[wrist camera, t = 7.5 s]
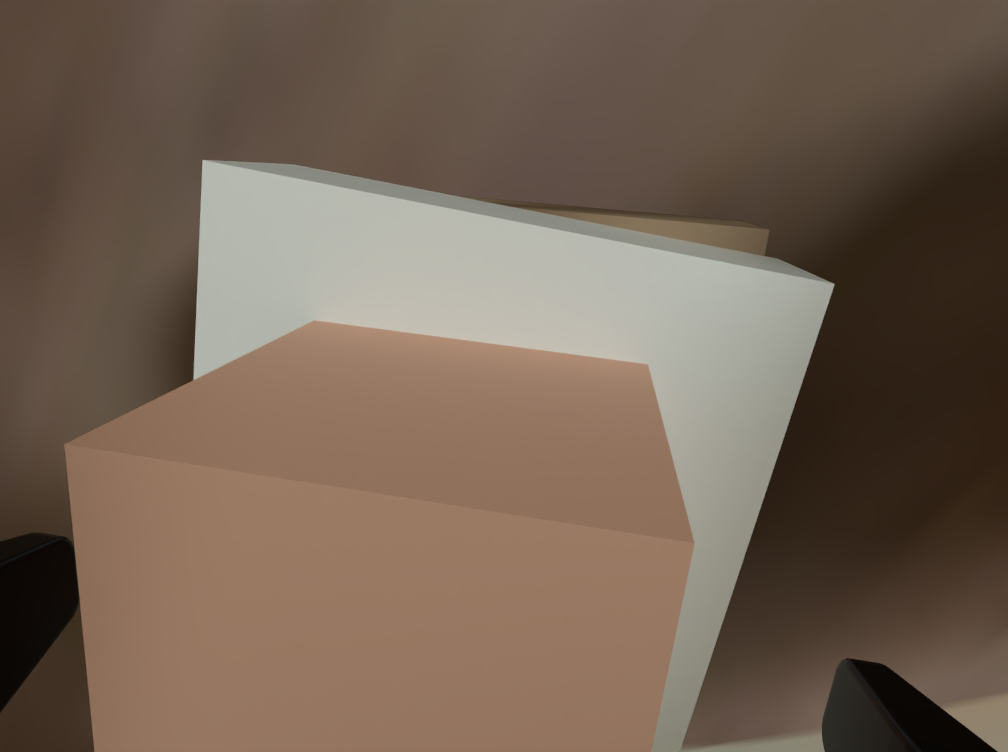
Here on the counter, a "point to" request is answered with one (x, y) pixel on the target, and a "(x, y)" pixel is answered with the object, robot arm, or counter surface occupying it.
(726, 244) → the tower bottom
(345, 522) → the cube
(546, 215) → the tower top
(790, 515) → the counter surface
